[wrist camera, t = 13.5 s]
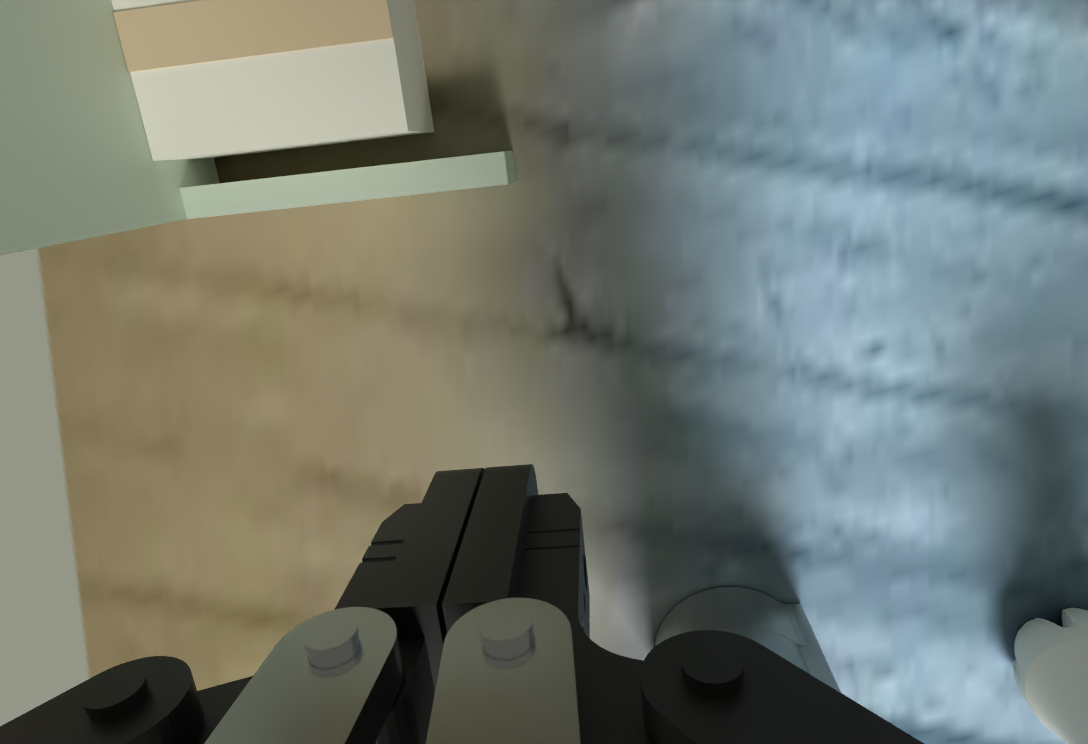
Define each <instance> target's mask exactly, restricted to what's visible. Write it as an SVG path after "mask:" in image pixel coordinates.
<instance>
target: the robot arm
mask: <svg viewBox="0 0 1088 744" xmlns="http://www.w3.org/2000/svg"><path fill="white" fill-rule="evenodd" d="M0 744H924V743H922V742H920V741H919V740H917V739H915V738H914V737H912V736H911V735H909V734H907V733H906V732H904V731H902V730H901V729H899V728H897V727H896V726H894V725H892V724H891V723H889V722H888V721H886V720H884V719H883V718H881V717H879V716H878V715H876V714H874V713H873V712H871V711H870V710H868V709H866V708H865V707H863V706H861V705H860V704H858V703H856V702H855V701H853V700H851V699H850V698H848V697H847V696H845V695H843V694H842V693H841V692H840V689H839V687H838V685H837V683H836V681H835V678H834V676H833V674H832V672H831V670H830V667H829V665H828V663H827V661H826V659H825V656H824V654H823V652H822V650H821V648H820V646H819V643H818V641H817V639H816V637H815V635H814V632H813V630H812V628H811V626H810V624H809V621H808V619H807V617H806V615H805V613H804V610H803V608H802V606H801V605H800V604H783V603H781V602H779V601H777V600H775V599H773V598H771V597H770V596H768V595H766V594H764V593H761V592H758V591H755V590H752V589H747V588H740V587H718V588H714V589H709V590H705V591H702V592H699V593H697V594H695V595H692V596H690V597H688V598H687V599H685V600H684V601H682V602H681V603H679V604H678V605H676V606H675V607H674V609H673V610H672V611H671V612H670V613H669V614H668V615H667V616H666V617H665V619H664V621H663V622H662V624H661V626H660V627H659V630H658V634H657V637H656V640H655V647H654V648H653V649H652V650H651V651H650V652H649V653H648V655H647V656H646V658H645V660H644V661H642V660H637V659H632V658H628V657H624V656H620V655H617V654H614V653H612V652H609V651H607V650H605V649H603V648H602V647H600V646H598V645H597V644H596V643H594V642H593V641H592V640H591V639H590V638H589V586H588V576H587V567H586V557H585V547H584V538H583V528H582V518H581V509H580V508H579V506H578V505H577V504H576V503H575V502H574V500H573V499H572V498H571V497H570V496H569V495H568V493H560V494H545V495H538V489H537V481H536V475H535V470H534V466H533V465H532V464H530V465H516V466H502V467H489V468H486V469H484V468H477V469H463V470H449V471H437V472H436V473H435V475H434V477H433V479H432V482H431V484H430V486H429V488H428V490H427V492H426V495H425V497H424V499H423V501H422V503H417V504H404V505H403V506H402V507H401V508H399V509H398V510H397V511H396V512H394V513H393V514H392V515H391V516H389V517H388V518H387V519H386V520H384V521H383V522H382V523H381V525H380V527H379V529H378V531H377V533H376V534H375V536H374V538H373V540H372V542H371V546H369V547H368V549H367V551H366V553H365V555H364V556H363V558H362V563H360V564H359V566H358V567H357V569H356V571H355V573H354V575H353V577H352V578H351V580H350V582H349V584H348V586H347V588H346V589H345V591H344V593H343V595H342V597H341V599H340V600H339V602H338V604H337V606H336V608H335V610H332V611H328V612H325V613H322V614H319V615H317V616H314V617H312V618H310V619H308V620H306V621H304V622H303V623H301V624H299V625H297V626H296V627H295V628H293V629H292V630H290V631H289V632H288V633H287V634H286V635H285V636H284V637H282V638H281V640H280V641H279V642H278V643H277V644H276V645H275V647H274V648H273V650H272V651H271V652H270V654H269V655H268V656H267V658H266V659H265V661H264V662H263V663H262V665H261V666H260V667H259V669H258V670H257V672H256V673H255V674H254V676H251V677H248V678H244V679H240V680H237V681H233V682H229V683H225V684H222V685H218V686H214V687H211V688H207V689H203V690H200V691H197V689H196V686H195V683H194V680H193V676H192V673H191V670H190V668H189V666H188V665H187V664H186V663H185V662H184V661H182V660H180V659H177V658H174V657H168V656H154V657H146V658H141V659H137V660H132V661H129V662H126V663H123V664H120V665H118V666H115V667H113V668H110V669H108V670H106V671H104V672H102V673H100V674H98V675H96V676H94V677H92V678H90V679H88V680H86V681H85V682H83V683H81V684H79V685H77V686H75V687H73V688H71V689H70V690H68V691H66V692H64V693H62V694H60V695H58V696H57V697H55V698H53V699H51V700H49V701H47V702H45V703H44V704H42V705H40V706H38V707H36V708H34V709H32V710H30V711H29V712H27V713H25V714H23V715H21V716H19V717H17V718H15V719H14V720H12V721H10V722H8V723H6V724H4V725H2V726H0Z"/></svg>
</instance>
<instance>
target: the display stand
mask: <svg viewBox="0 0 1088 744" xmlns="http://www.w3.org/2000/svg"><path fill="white" fill-rule="evenodd" d="M113 12H114V9H113V6H112V2H111V0H0V255H4V254H9V253H15V252H20V251H25V250H30V249H35V248H41V247H46V246H51V245H56V244H61V243H66V242H72V241H77V240H82V239H87V238H92V237H97V236H103V235H108V234H113V233H118V232H123V231H129V230H134V229H139V228H144V227H149V226H154V225H160V224H165V223H170V222H175V221H180V220H186V219H193V218H202V217H212V216H221V215H230V214H239V213H249V212H258V211H267V210H276V209H285V208H295V207H304V206H313V205H322V204H332V203H341V202H350V201H359V200H368V199H378V198H387V197H396V196H405V195H414V194H424V193H433V192H442V191H451V190H461V189H470V188H479V187H488V186H497V185H507V184H510V183H512V182H514V181H515V180H516V173H515V165H514V156H513V150H512V151H503V152H494V153H485V154H476V155H467V156H459V157H450V158H441V159H432V160H423V161H414V162H405V163H396V164H388V165H379V166H370V167H361V168H352V169H343V170H334V171H325V172H317V173H308V174H299V175H290V176H281V177H272V178H263V179H254V180H246V181H237V182H228V183H220V182H219V178H218V174H217V169H216V165H215V161H214V158H204V159H183V160H162V161H153V159H152V155H151V151H150V148H149V144H148V140H147V136H146V132H145V128H144V124H143V121H142V117H141V113H140V109H139V105H138V101H137V98H136V94H135V90H134V86H133V82H132V78H131V75H130V72H128V68H127V64H126V60H125V57H124V53H123V49H122V45H121V41H120V37H119V34H118V30H117V26H116V22H115V18H114V15H113Z"/></svg>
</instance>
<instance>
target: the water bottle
mask: <svg viewBox="0 0 1088 744" xmlns="http://www.w3.org/2000/svg"><path fill="white" fill-rule="evenodd" d="M1062 623H1063V627H1060V626H1058V625H1057V624H1055V623H1053V622H1050V621H1048V620H1045V619H1041V618H1035V619H1033V620H1030V621H1028V622H1026V623H1025V624H1024V625H1023V626H1022V627H1021V628H1020V630H1019V631H1018V632H1017V635H1016V639H1015V644H1014V650H1015V657H1016V659H1015V660H1014V661H1013V674H1014V679H1015V682H1016V684H1017V686H1018V688H1019V690H1020V692H1021V694H1022V696H1023V698H1024V699H1025V701H1026V702H1027V704H1028V705H1029V707H1030V708H1031V709H1032V711H1033V712H1034V713H1035V714H1036V716H1037V717H1038V718H1039V719H1040V720H1041V721H1042V722H1043V723H1044V724H1045V725H1046V726H1047V727H1048V728H1049V729H1050V730H1052V731H1053V732H1054V733H1055V734H1056V735H1057V736H1059V737H1060V738H1061V739H1062V740H1063V741H1064V742H1065V743H1066V744H1088V611H1087V610H1083V609H1079V608H1067V609H1062Z"/></svg>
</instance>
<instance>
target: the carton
mask: <svg viewBox="0 0 1088 744" xmlns="http://www.w3.org/2000/svg"><path fill="white" fill-rule="evenodd" d="M111 2H112V6H113V9H114V12H113V15H114V18H115V22H116V26H117V30H118V34H119V37H120V41H121V45H122V49H123V53H124V57H125V60H126V64H127V68H128V72H130V75H131V78H132V82H133V86H134V90H135V94H136V98H137V101H138V105H139V109H140V113H141V117H142V121H143V124H144V128H145V132H146V136H147V140H148V144H149V148H150V151H151V155H152V159H153V161H162V160H183V159H204V158H219V157H228V156H236V155H245V154H253V153H262V152H270V151H279V150H287V149H296V148H305V147H313V146H322V145H330V144H339V143H347V142H356V141H364V140H373V139H381V138H390V137H399V136H407V135H416V134H424V133H433V132H434V127H433V120H432V113H431V106H430V99H429V92H428V86H427V79H426V72H425V65H424V58H423V51H422V45H421V38H420V31H419V24H418V17H417V10H416V3H415V0H111Z"/></svg>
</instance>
